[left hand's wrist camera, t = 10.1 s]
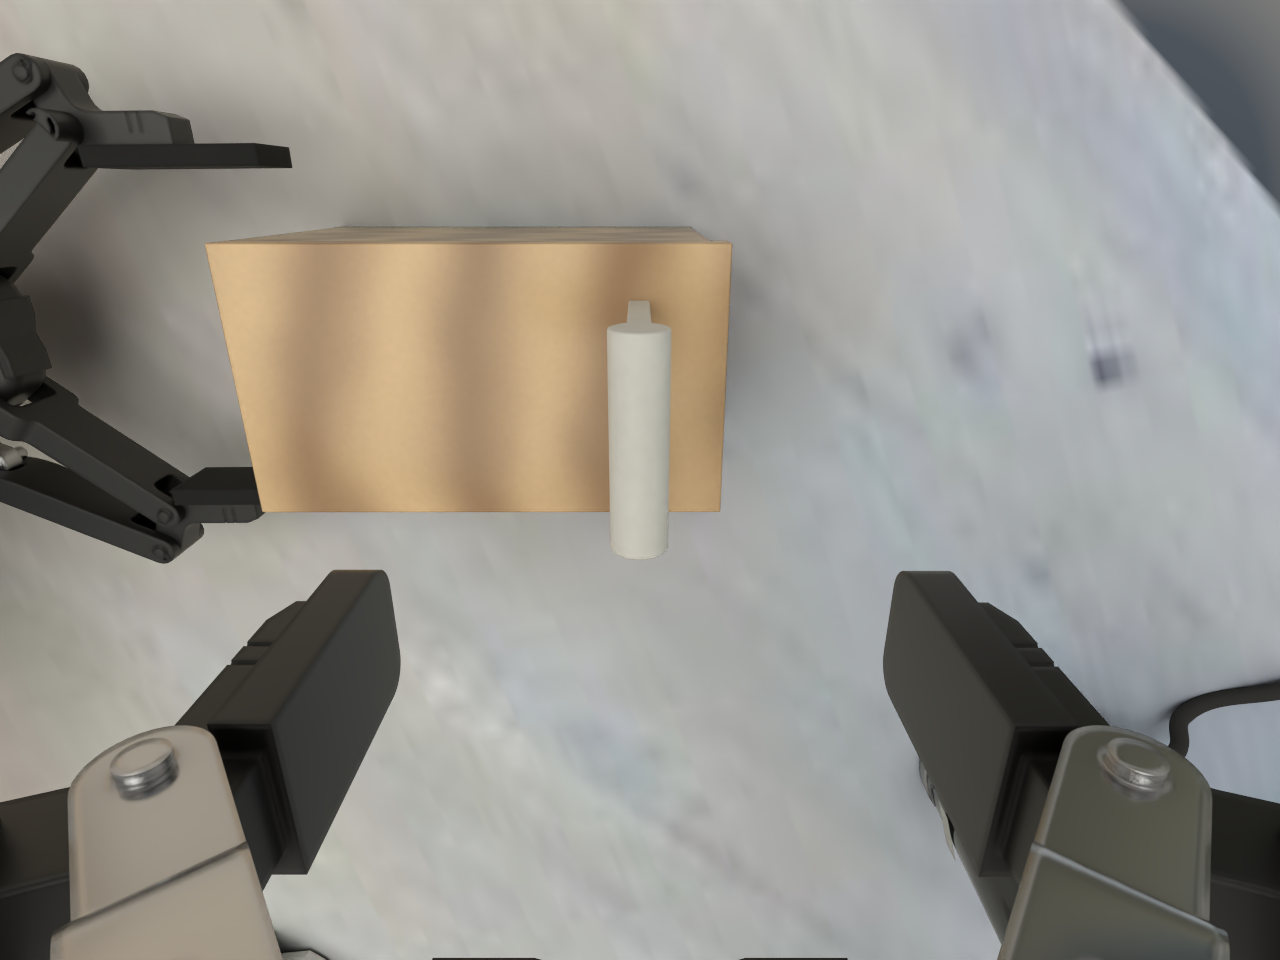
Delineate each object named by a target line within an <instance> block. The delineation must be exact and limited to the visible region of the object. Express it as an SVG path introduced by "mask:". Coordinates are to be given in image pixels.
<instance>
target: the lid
mask: <svg viewBox="0 0 1280 960" xmlns="http://www.w3.org/2000/svg"><path fill="white" fill-rule="evenodd" d="M205 247H206V252H207V257H208V261H209V266H210V270H211V275H212V280H213V284H214V289H215V294H216V298H217V303H218V308H219V312H220V317H221V322H222V326H223V331H224V336H225V340H226V345H227V349H228V354H229V359H230V363H231V368H232V373H233V377H234V382H235V387H236V391H237V396H238V401H239V405H240V410H241V414H242V419H243V424H244V428H245V433H246V438H247V442H248V447H249V452H250V456H251V461H252V466H253V470H254V475H255V479H256V484H257V489H258V493H259V498H260V503H261V507H262V511H263V512H610V544H611V549H612V551H613V552H614V553H615V554H617V555H619V556H621V557H624V558H628V559H635V560H643V559H651V558H655V557H658V556H660V555H662V554H663V553H664V552H665V551H666V550H667V548H668V513H669V512H720V502H721V480H722V458H723V436H724V414H725V392H726V370H727V348H728V326H729V304H730V282H731V260H732V244H731V243H730V242H728V241H221V242H213V243H206V244H205Z"/></svg>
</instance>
